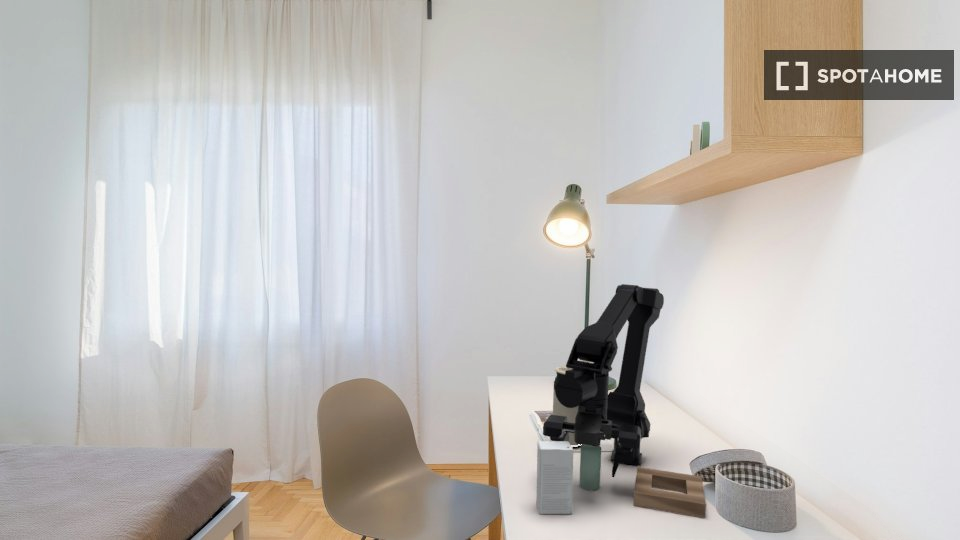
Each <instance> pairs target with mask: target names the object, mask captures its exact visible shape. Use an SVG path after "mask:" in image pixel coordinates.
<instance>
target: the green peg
mask: <svg viewBox="0 0 960 540" xmlns="http://www.w3.org/2000/svg"><path fill="white" fill-rule="evenodd" d="M601 461H602V447H601V446H600V445H599V446H596V447H594V446H591V445H586V444H582V445H581V447H580V463H579V464H580V465H579V483H578V484H579V485H578V486H579V487H580V488H581V489H584V490H586V491H598V490H600V488H601V487H600V486H601V464H602V462H601Z"/></svg>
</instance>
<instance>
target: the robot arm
mask: <svg viewBox="0 0 960 540" xmlns="http://www.w3.org/2000/svg"><path fill="white" fill-rule="evenodd" d="M615 288H616V289H615V294H614V295H613V296H612V298H611V300H610V302H609V303H608V304H607V306H606V307H605V309H604V311H603V312H602V314H601V315H600V317H599V318H598V319H597V321H596V322H594V323H593V324H590V325H587V326H586V327H584V329H582V331H581V332H580V333H579V334H578V335H577V336H576V338H575V340H574V342H573V345H572V348H571V351H570V353H569V356H568V358H567V361H566V364H565V366H566V368H572V369H571V370H570V369H569V370H566V371H565V377H563V378H561V379H560V380H559V381H558V383H557V385H556V387H555V394H556V397H557V399H558V401H559V402H560V403H561V404H562V405H563V406H565V407H567V408H574V407H577V406H578V412H577V415H576V417H575V423H569V422H567V417H565V416H558V415H553V414H550V415H548V416H547V418H546V419H545V421H544V422H543V425H542V426H543V427H542V435H543V436H544V437H549V439H550V440H549V441H569V432H570V433H574V441H575V443H577V444H580V445H581V444H586V445H591V446H594V447H596V446H600V445H601V441H606V440H608V441H610V440H612V439H613V449H612V451H611V455H610V461H611V462H613V464H612V468H611V477H612V478H615V476H616V473H617V470H618V467H619V465H620V464H627V465H632V466H633V465H634V466H641V465H642V457H643V454H642V452H641V440H642V439H643V438H649V436H650V432H651V423H650V419H649V418H648V416H647V413H646V402H645V400H644V398H643V395H642V393H641V385H642V379H643V372H644V367H645V361H646V360H645V359H646V354H647V347H648V341H649V335H650V330H651V327H652V326H653V325H654V323H656V321H657V320H659V318H660V313H661V309H663V307H664V302H665V300H664V299H665V298H664V295H663V293H660V290H659V289H658V288H652V287H651V288H650V287H642V286H639V285H637V284H635V285H634V284H623V283H622V284H619V285H617V287H615ZM627 322H628V326H627V332H626V338H625V343H624V349H623V355H622V361H621V366H620V373H619V379H618V385H617V387H616V388H615V389H613V391H609V380H610V379H609V377H610V374H609V373H611V371H613V368H612V365H613V362H614V360H615V357H616V355H617V354H618V349H619V346H618V343H617V338H618V336H619V334H620V333H621V331H622V329H623V328H624V326H625V325H626V323H627Z"/></svg>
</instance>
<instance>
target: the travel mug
mask: <svg viewBox="0 0 960 540" xmlns="http://www.w3.org/2000/svg"><path fill="white" fill-rule="evenodd" d="M569 369H570V370H571V369H572V368H566V365H564V366H563V365H561V366H558V367H555V369H554V370H555V372H556V377H555V379H554V381H553V397H552V398H553V400H552V415H558V416H565V417H567V422H569V423H575V417H576V415H577V412H578V406H577V407H574V408H567V407H565V406H563V405H562V404H561V403H560V402H559V401H558V399H557V397H556V394H555V387H556V385H557V383H558V381H559V380H560V379H561V378H563V377H565V371H566V370H569ZM569 443H570V445H578V444H577V443H575V441H574V433H570V432H569Z"/></svg>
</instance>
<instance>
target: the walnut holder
mask: <svg viewBox="0 0 960 540" xmlns="http://www.w3.org/2000/svg"><path fill="white" fill-rule="evenodd" d="M634 482H635V483H634V490H633V506H635V507H640V508H645V509H652V510H657V511H662V512H663V511H664V512H668V513H674V514H680V515H686V516H691V517H697V518H703V519H706V512H707V511H706V506H707V502H706V498H705V495H706V494H705V489H704V484H703V483H704V482H703V477H702V476H700V475H694V474H687V473H680V472H675V471H667V470H662V469H657V468H656V469H655V468H648V467H641V466H637V467H636V475H635V481H634Z"/></svg>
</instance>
